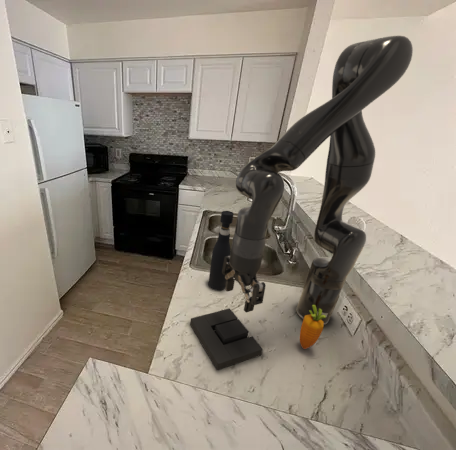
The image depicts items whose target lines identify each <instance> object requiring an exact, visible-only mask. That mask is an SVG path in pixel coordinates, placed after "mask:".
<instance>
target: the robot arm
mask: <svg viewBox="0 0 456 450" xmlns="http://www.w3.org/2000/svg"><path fill="white" fill-rule="evenodd" d="M412 43H413V42H412V41H411V40H410V39H409V38H408V37H406V36H404V35H389V36H384V37H379V38H374V39H369V40H368V39H367V40H365V41H359V42H356V43H355V42H354V43H352V44H350V45H348V46H346V47H345V48H343V50H342V52H341V53H340V54H339V55H338V57H337V60H336V62H335V65H334V69H333V74H332V82H331V83H332V85H331V98H330V99H329V100H327V101H326V102H324V103H323V104H321V105H320V106H318V107H316V108H314V109H313V110H311V111H310V112H308V113H306V114H305V115H303V116H302V117H301V118H299V119H298V120H297V121H296V122H294V123H293V124H292V125H291V126H290V127H289V128H288V129H287V130H286V132H284V134H282V136H281V137H279V138H278V140H277V141H276V142H275V144H274V145H272V146H271V147H270V148H268V149H267V150H265V151H263V152H261V154H259V155H258V156H256V157H255V158H254V159H252V160H251V161H249V162H248V163H247V164H246V165H244V167H242V169H240V171H239V173H238V174H237V177H236V179H235V188H236V190H237V192H239V194H241V195H243V196H244V197H246V198H248V199H249V200H251V204H250V206H245V207H242V208H241V209H239V211H238V212H237V216H236V221H235V226H234V227H235V228H234V234H233V236H232V240H231V245H230V249H231V253H230V256H226V257H225V258H224V263H223V268H222V273H223V274H225V275H226V276H225V278H226V285H225V286H226V287H225V289H224V290H225V291H226V292H232V291H233V290H234V287H235V282H237V283H238V284H239V286H240V288H241V292H242V293H243V294H244V297H245V300H244V307H243V311H244V313H251V312H253V311H254V309H255V306H258V305H261V304H263V303H264V296H265V291H266V283H265V282H264V281H261V282H260V281H259V280H258V278H257V274H258V272H259V271H260V270H261V266H262V262H263V256H264V253H265V247H266V240H267V239H266V238H267V233H268V228H269V225H270V220H271V218H272V217H273V216H274V213H275V211H276V209H277V207H278V206H279V204H280V203H281V201H282V199H283V196H284V194H285V181H284V178H283V177H282V175H281V174H280V173H281V172H292V171H296V170H297V169H298V168H300V167H301V166H302V165H303V164H304V163H305V161H306V160H308V158H310V156H312V154H313V153H314V152H316V150H317V149H318V148H319V147H320V146H321V145H322V144H323V143H324V142H326V140H327V139H328V138H329V144H328V145H329V146H328V153H327V159H326V166H325V173H324V174H325V175H324V185H323V191H322V198H321V204H320V209H319V212H318V216H317V220H316V223H315V224H316V225H315V229H314V235H313V237H314V242H315V243H316V245H318V246H319V247H320V248H321V249H324V251H326V252H328V253H330V254H332V256H331V257H329V256H318V257H315V258H314V259H313V260H312V262H311V264H310V266H309V270H308V272H307V277H306V279H305V282H304V285H303V288H302V291H301V295H300V297H299V300H298V303H297V305H296V307H295V312H296V314H297V316H298V317H299V318H300V319H301V320H303V319H304V316H305V315H310V314H311V313H310V311H309V310H311V311H312V312H313V314H314V311H313V307H312V305H316V309H317V316H318V311H319V309H321V310H322V314H321V315H325V316H326V318H323V319H321V320H322V321H323V322H324V326H326V325H327V324H328V323H329V321H330V319H331V318H332V315H333V313H334V310H335V309H336V305H337V303H338V302H339V299H340V294H341V292H342V290H343V288H344V285H345V283H346V280H347V277H348V275H350V273H351V272H352V270H353V269H354V267H355V265H356V263H357V261H358V259H359V257H360V255H361V253H362V251H363V249H364V247H365V245H366V242H367V234H366V232H365V231H364V230H362V229H361V228H359V227H357V226H354V225H352V224H350V223H347V222H346V221H343V213H344V209H345V207H346V204H347V203H348V202H349V201H350V200H351V199H352V198H354V197H355V196H356V195H358V193H360V192H361V191H362V190H363V189H364V188H365V187H366V186H367V185H368V183H369V182H370V179H371V177H372V174H373V169H374V163H375V159H376V147H375V143H374V140H373V138H372V136H371V133H370V131H369V129H368V127H367V125H366V123H365V122H366V121H365V120H364V117H363V110H364V109H365V108H367V107H368V106H369V105H370V104H372V103H374V102H375V101H376V100H377V99H378V98H379V97H381V96H383V94H385V93H386V92H388V91H389V90H390V89H392V87H393V86H395V85H396V84H397V83H398V82H399V81H400V80H401V78H402V77H403V76H404V75H405V73H406V72H407V70H408V68H409V67H410V64H411V61H412V58H413V51H414V49H413V44H412ZM227 268H228V269H227ZM249 286H250V287H249ZM247 287H249V288H247ZM250 293H251V296H250Z"/></svg>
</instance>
